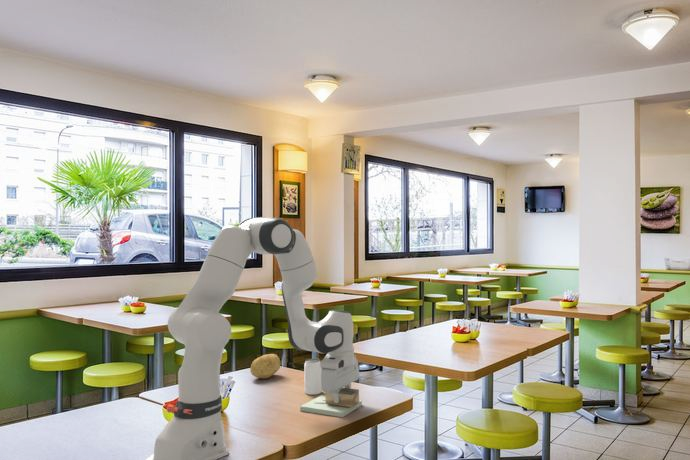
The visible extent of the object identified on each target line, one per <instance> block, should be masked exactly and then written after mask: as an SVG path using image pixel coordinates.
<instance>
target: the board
mask: <svg viewBox="0 0 690 460" xmlns="http://www.w3.org/2000/svg"><path fill="white" fill-rule="evenodd" d="M362 405H363V400H361V399H359V404H357V405H355V406H354V407H346V406H339V405H332V404H326V395H321V394H320V395H319V396H317V397H315V398H313V399H312V400H309V401H308V402H306V403H304V404H302V405H300V407H299V411H300V412H304V413H305V412H306V413H313V414H319V415H325V416H332V417H339V418H344V417H345V416H348V415H349V414H350V413H352V412H353V411H355V410H356V409H358V408H359V407H361V406H362Z"/></svg>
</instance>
